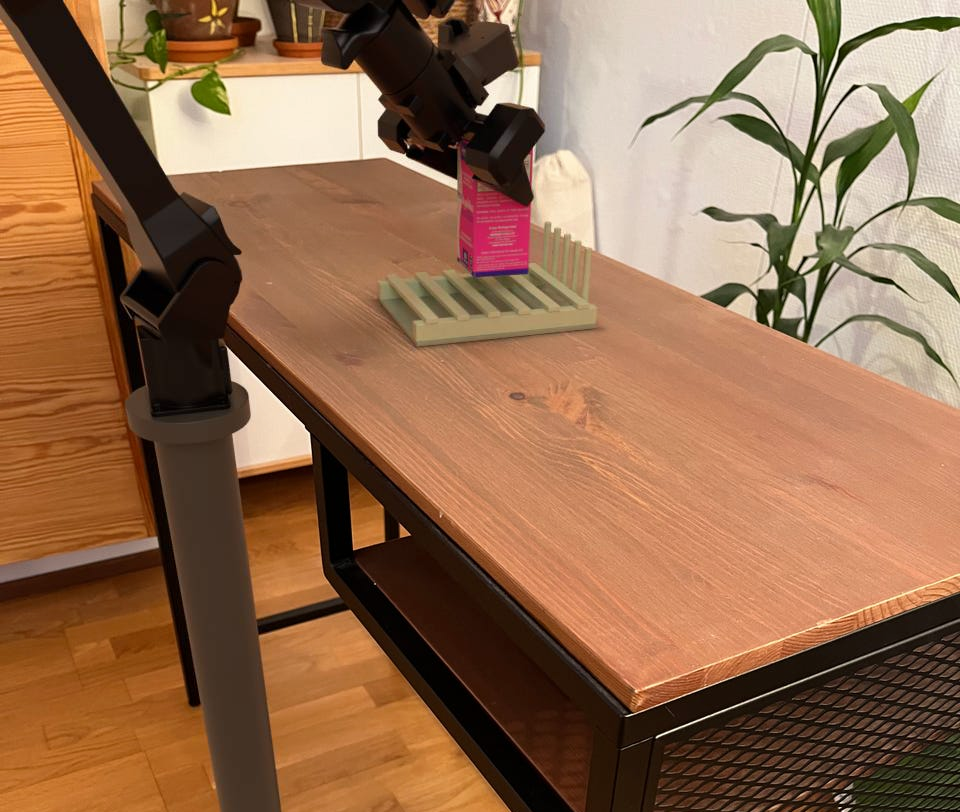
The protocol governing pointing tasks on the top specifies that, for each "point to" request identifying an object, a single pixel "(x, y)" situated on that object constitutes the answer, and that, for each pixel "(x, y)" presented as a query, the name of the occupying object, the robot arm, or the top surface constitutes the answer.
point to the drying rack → (493, 300)
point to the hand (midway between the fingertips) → (506, 194)
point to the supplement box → (491, 226)
